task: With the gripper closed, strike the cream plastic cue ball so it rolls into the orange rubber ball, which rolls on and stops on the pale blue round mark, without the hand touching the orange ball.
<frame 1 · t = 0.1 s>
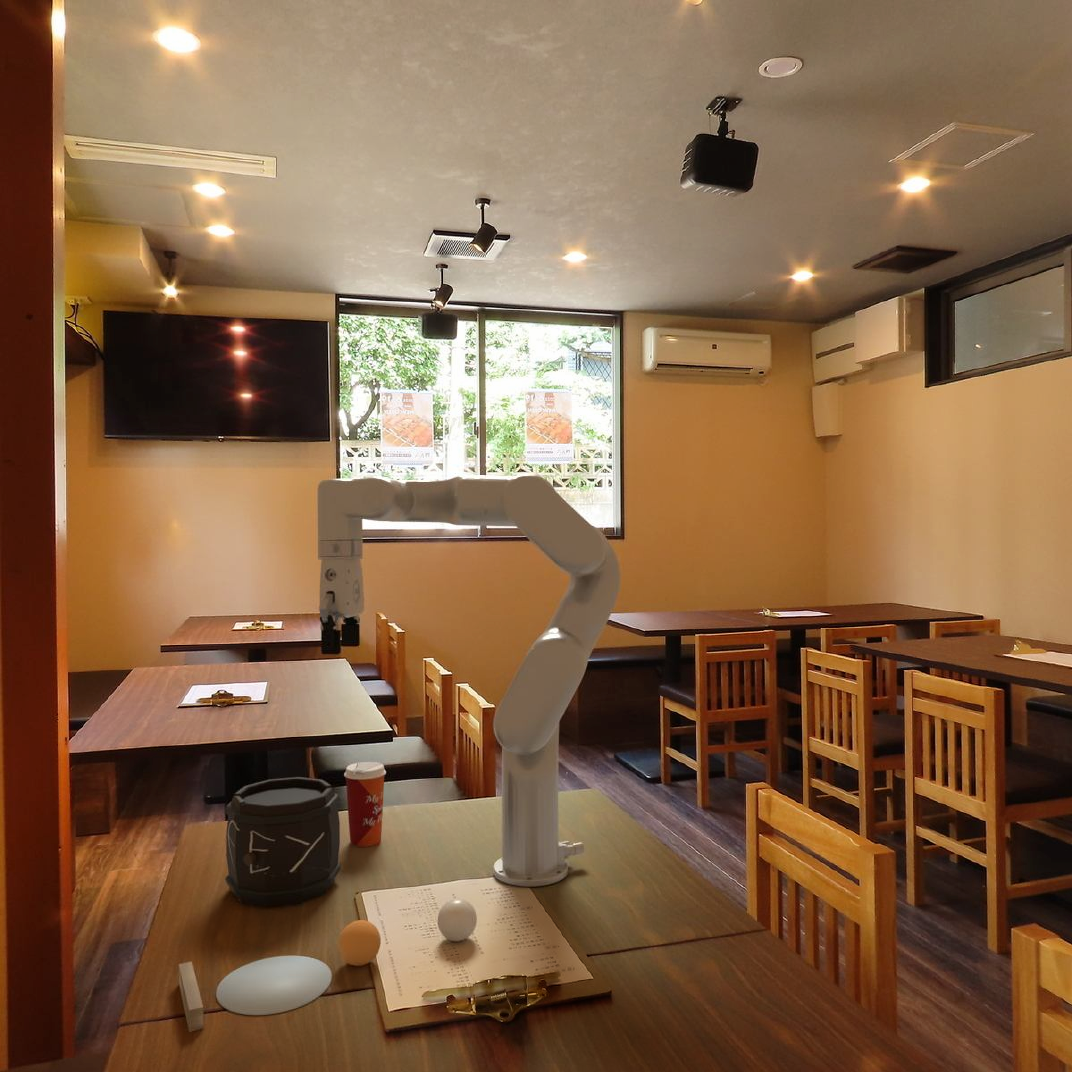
hand: (341, 650, 147), 37 cm above the table, tool pointing down, fingers open, 9 cm apart
dark grey barrel: (282, 889, 138), on the table
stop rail: (190, 1005, 104), on the table
paper cup: (365, 842, 159), on the table
cue ball: (457, 919, 120), on the table
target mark: (275, 984, 108), on the table
object ball: (359, 942, 114), on the table
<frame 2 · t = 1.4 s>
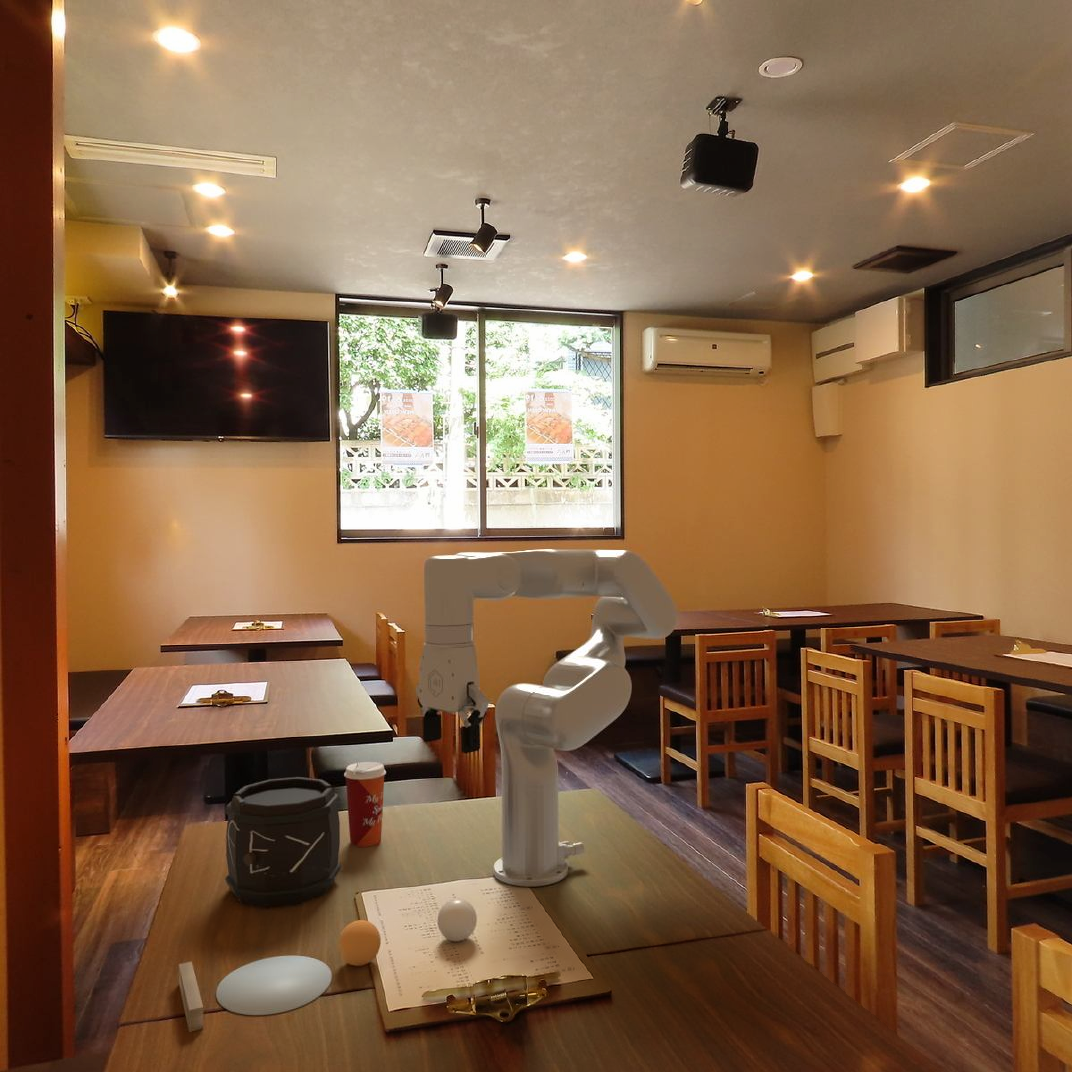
hand: (451, 745, 132), 24 cm above the table, tool pointing down, fingers open, 9 cm apart
nothing on the table moved.
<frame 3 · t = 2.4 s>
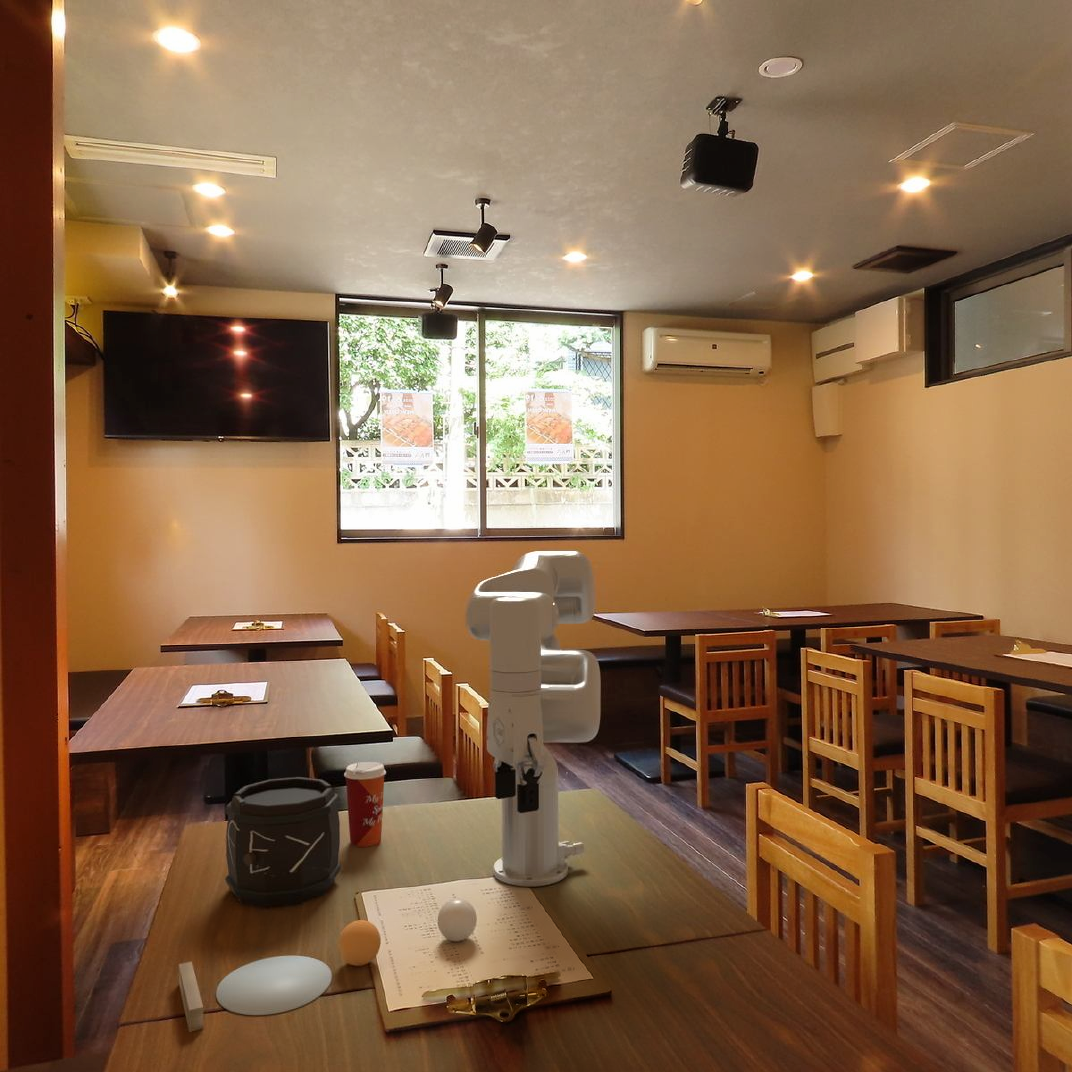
hand: (516, 803, 125), 18 cm above the table, tool pointing down, fingers open, 6 cm apart
nothing on the table moved.
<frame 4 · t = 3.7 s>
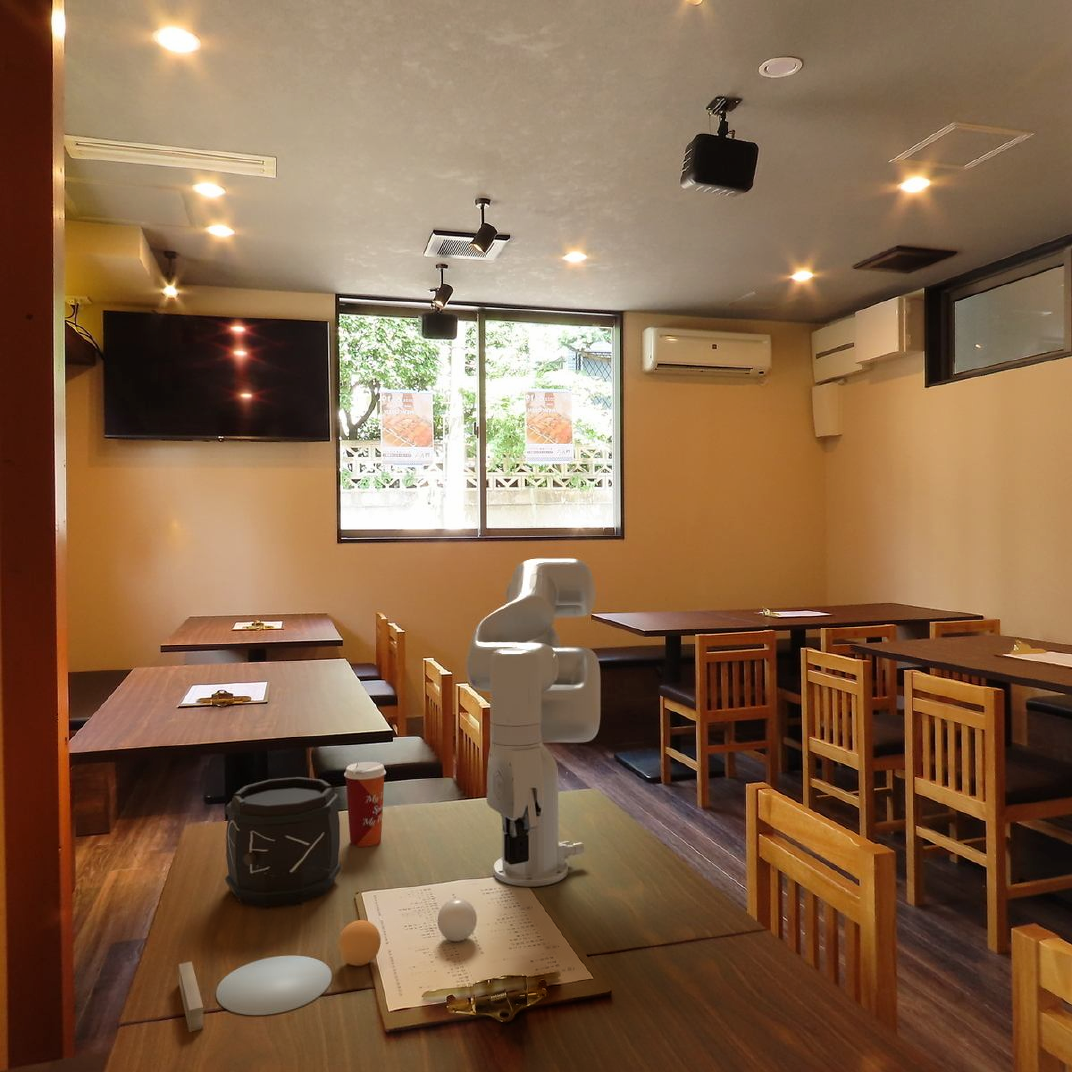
hand: (516, 861, 124), 10 cm above the table, tool pointing down, fingers closed
nothing on the table moved.
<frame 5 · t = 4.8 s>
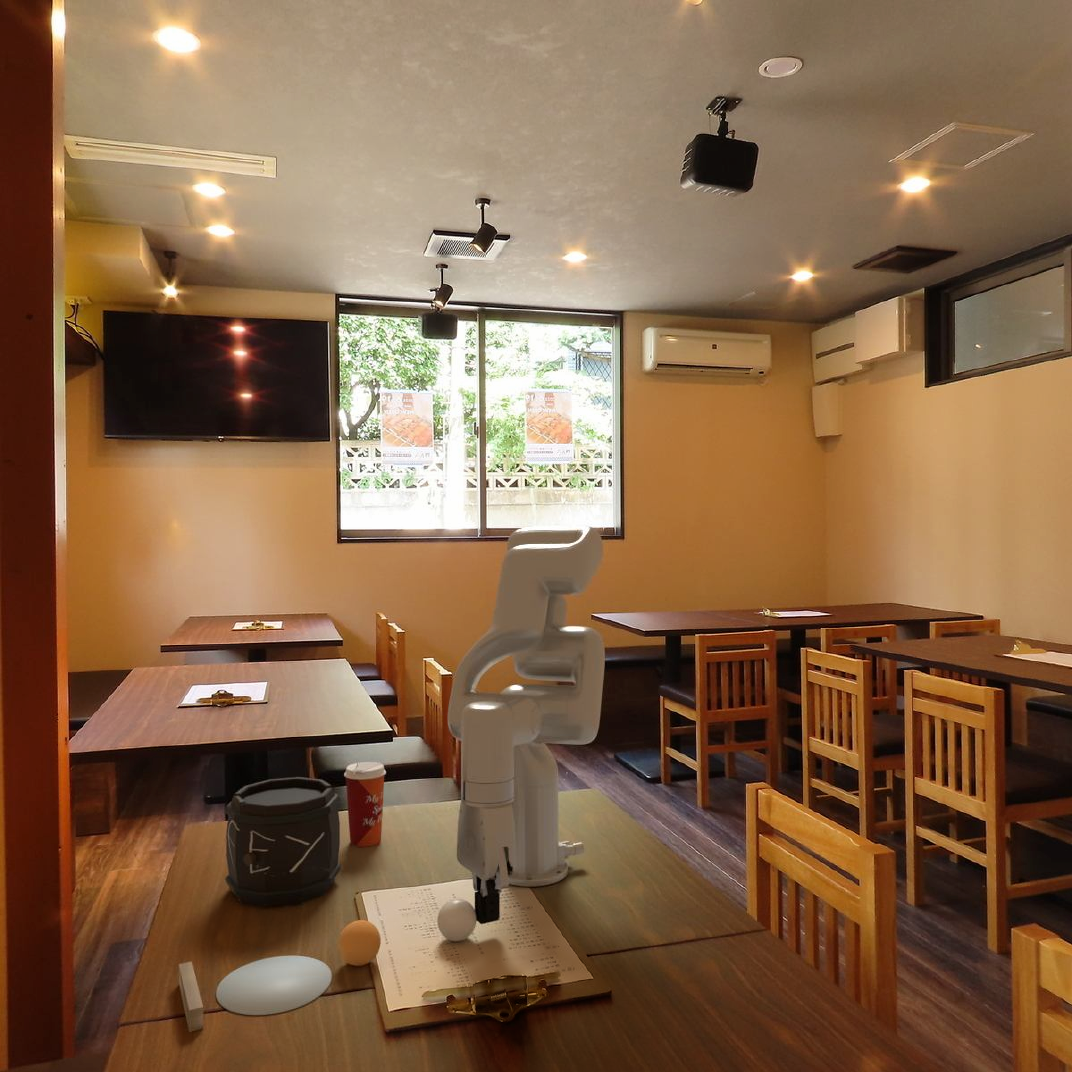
hand: (487, 919, 121), 2 cm above the table, tool pointing down, fingers closed
cue ball: (457, 919, 120), on the table, touching gripper
everything else where it was.
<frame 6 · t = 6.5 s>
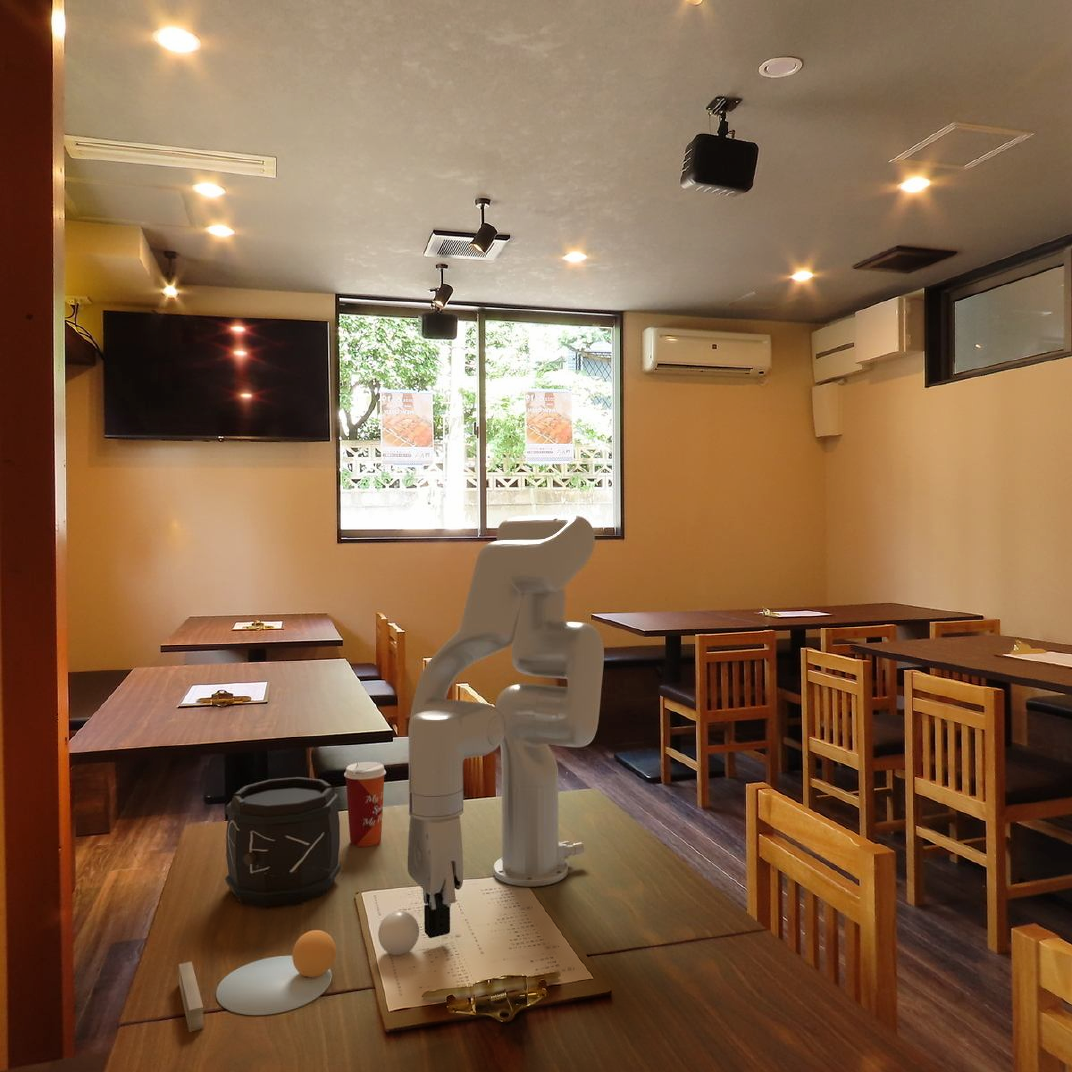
hand: (437, 933, 119), 2 cm above the table, tool pointing down, fingers closed
cue ball: (398, 932, 116), on the table
object ball: (314, 953, 111), on the table
everything else where it was.
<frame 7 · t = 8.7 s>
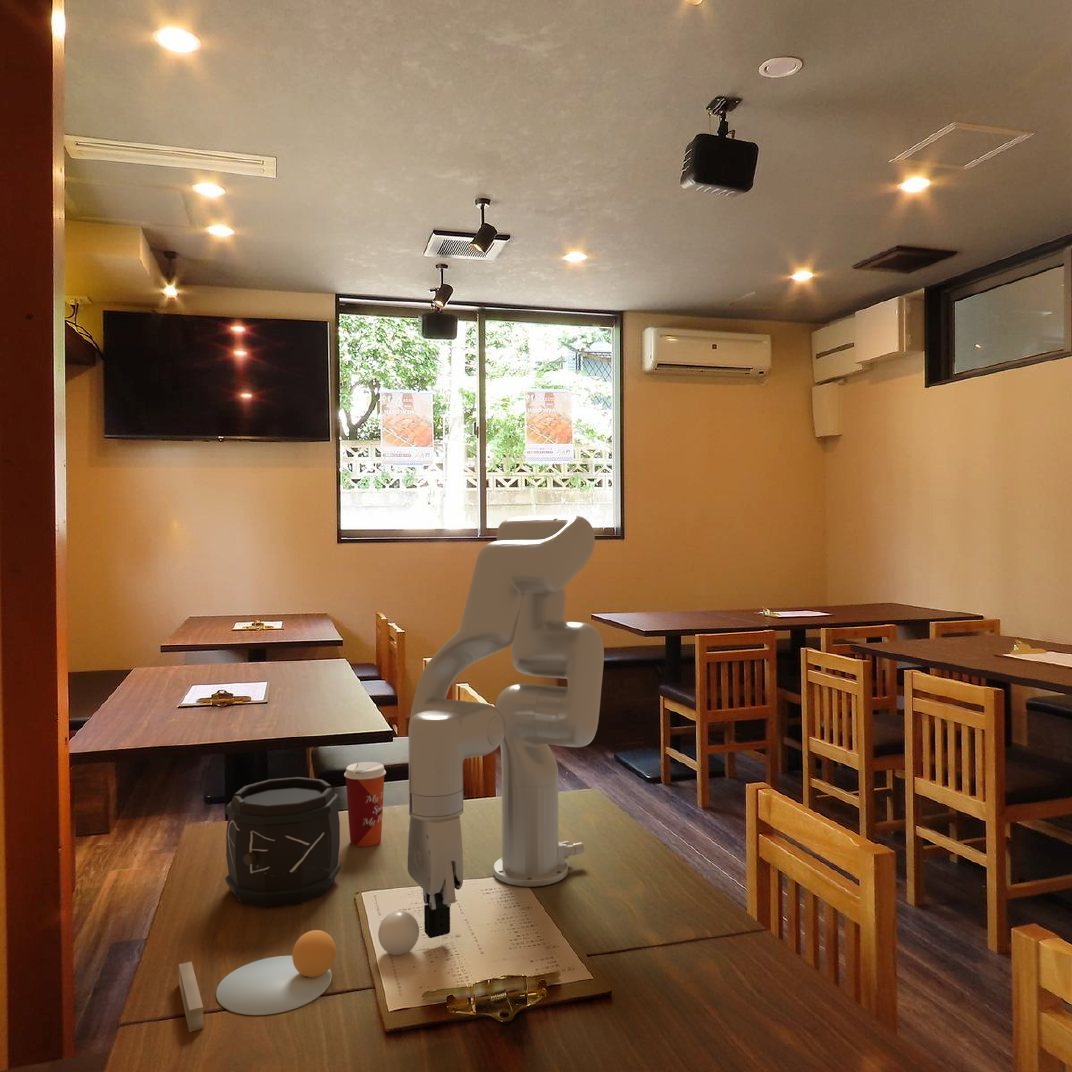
hand: (437, 933, 119), 2 cm above the table, tool pointing down, fingers closed
nothing on the table moved.
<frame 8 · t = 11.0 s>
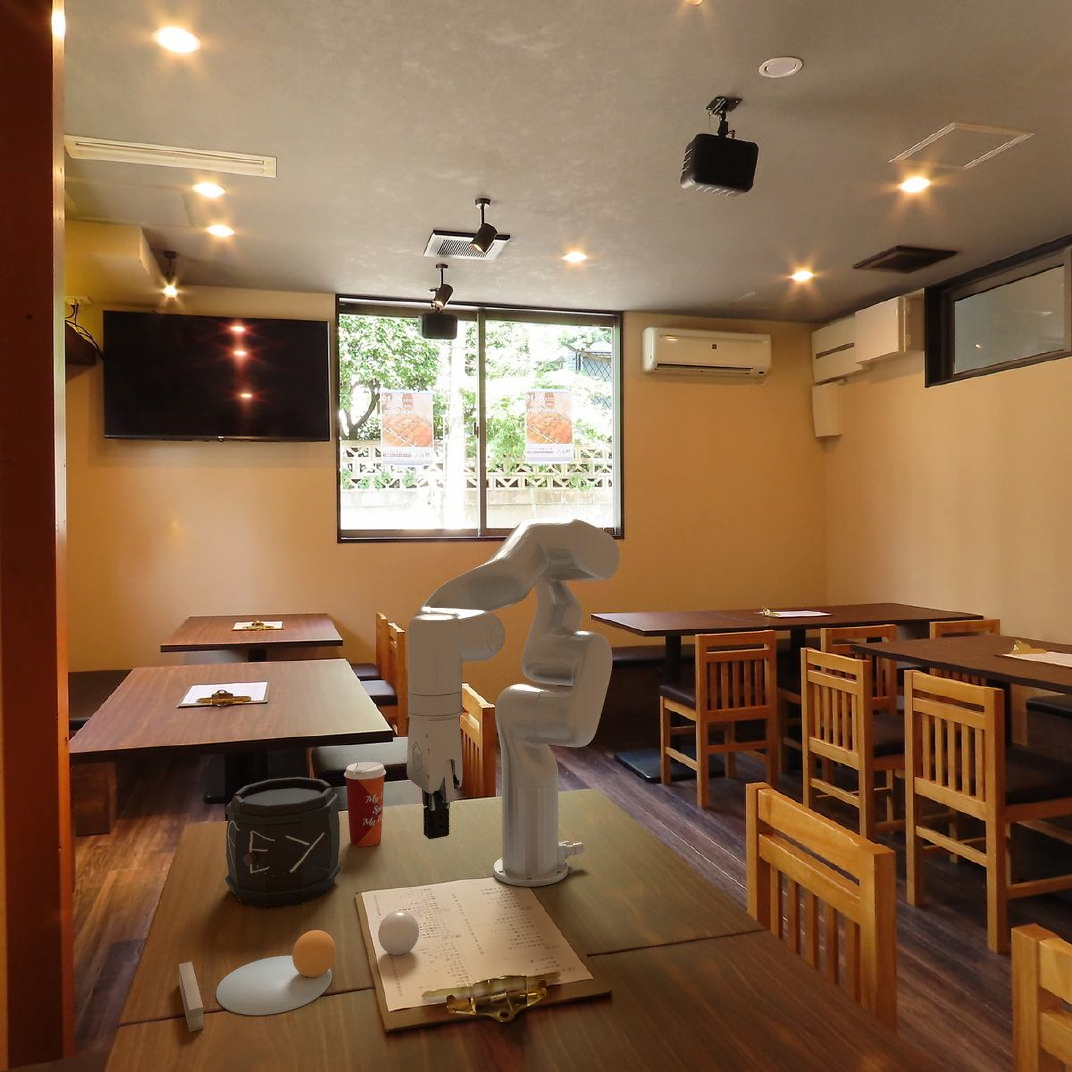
hand: (436, 835, 119), 15 cm above the table, tool pointing down, fingers closed
nothing on the table moved.
at the end: object ball 5.0 cm from the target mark (horizontally); object ball never touched the robot; cue ball first touched object ball at 5.2 s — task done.
